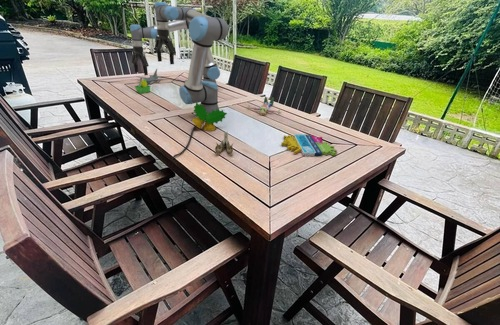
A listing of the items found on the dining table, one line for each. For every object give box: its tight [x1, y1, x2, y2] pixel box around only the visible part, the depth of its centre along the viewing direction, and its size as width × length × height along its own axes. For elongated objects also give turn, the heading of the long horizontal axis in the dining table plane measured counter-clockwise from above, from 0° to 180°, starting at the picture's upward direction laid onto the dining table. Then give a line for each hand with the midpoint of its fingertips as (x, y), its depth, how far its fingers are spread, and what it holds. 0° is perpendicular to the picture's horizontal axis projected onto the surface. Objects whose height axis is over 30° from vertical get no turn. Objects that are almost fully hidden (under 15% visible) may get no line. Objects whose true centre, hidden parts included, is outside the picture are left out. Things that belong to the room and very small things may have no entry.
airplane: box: [135, 68, 167, 86], centre depth 254 cm, size 38×31×10 cm
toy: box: [246, 95, 283, 116], centre depth 203 cm, size 28×7×30 cm
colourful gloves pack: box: [280, 133, 338, 157], centre depth 150 cm, size 26×2×30 cm
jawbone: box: [214, 131, 234, 156], centre depth 136 cm, size 9×15×10 cm
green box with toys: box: [134, 79, 152, 94], centre depth 224 cm, size 11×9×11 cm
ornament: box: [191, 102, 228, 132], centre depth 162 cm, size 21×8×15 cm, turn 105°
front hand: (165, 62), depth 184 cm, fingers open, 13 cm apart
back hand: (141, 73), depth 219 cm, fingers open, 13 cm apart
